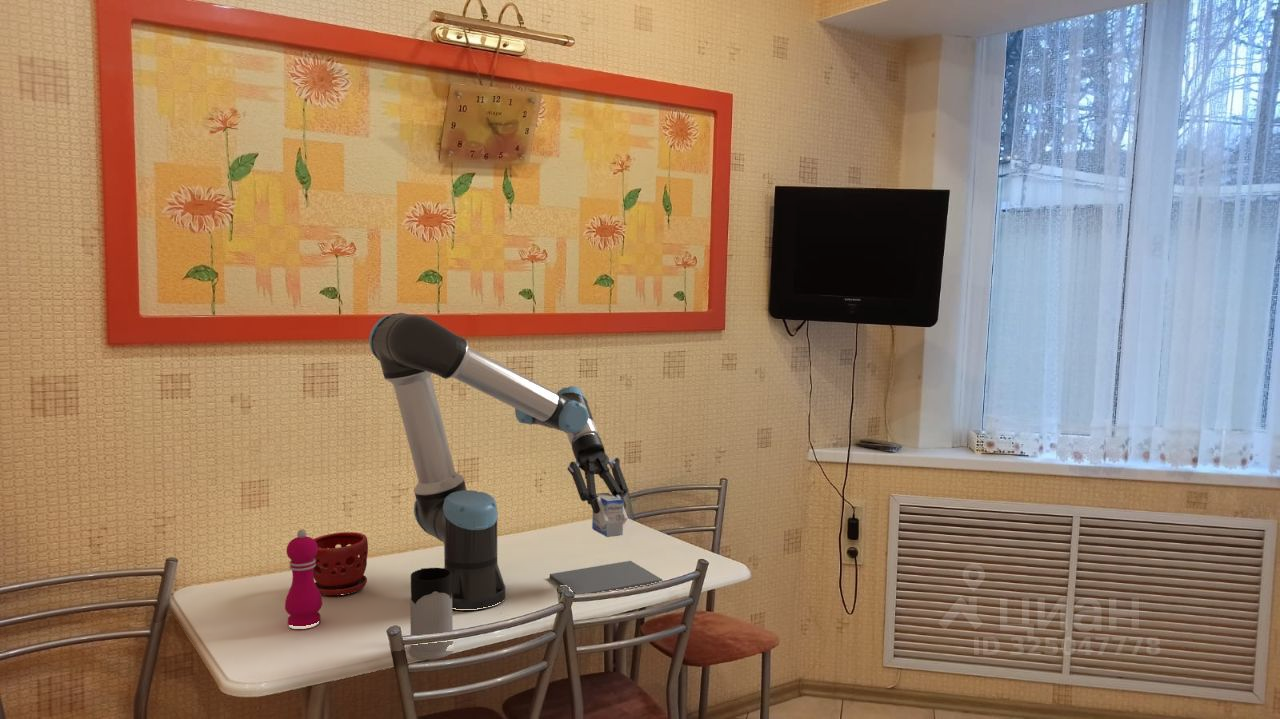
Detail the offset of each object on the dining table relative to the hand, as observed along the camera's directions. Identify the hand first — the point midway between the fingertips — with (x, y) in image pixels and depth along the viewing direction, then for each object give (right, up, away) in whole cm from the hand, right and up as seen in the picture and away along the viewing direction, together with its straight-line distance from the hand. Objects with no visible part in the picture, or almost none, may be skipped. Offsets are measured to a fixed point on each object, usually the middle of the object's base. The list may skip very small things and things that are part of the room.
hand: (614, 522), depth 205 cm
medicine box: (-2, -3, +4) cm, 5 cm away
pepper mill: (-63, -17, -24) cm, 70 cm away
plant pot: (-63, -15, -3) cm, 65 cm away
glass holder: (-35, -18, -34) cm, 52 cm away
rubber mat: (-2, -15, +4) cm, 15 cm away
